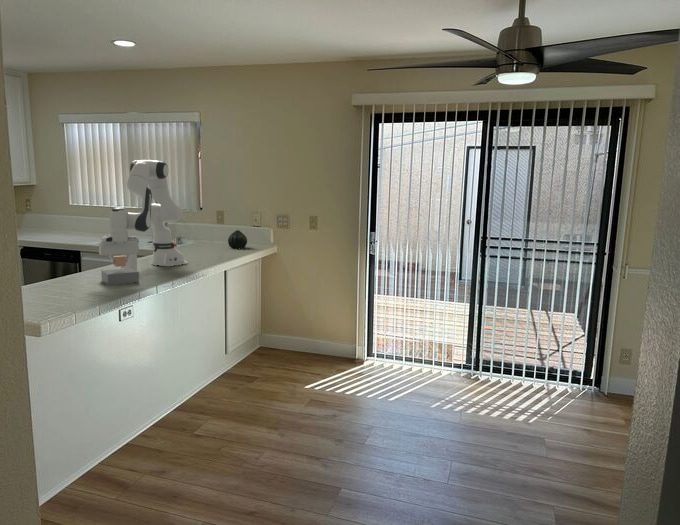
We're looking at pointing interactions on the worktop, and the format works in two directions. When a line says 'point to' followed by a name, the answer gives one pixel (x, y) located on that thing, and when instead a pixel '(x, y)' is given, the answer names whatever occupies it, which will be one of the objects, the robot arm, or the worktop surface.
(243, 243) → the squash
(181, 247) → the worktop surface
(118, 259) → the cube
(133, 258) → the mug
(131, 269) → the stand
